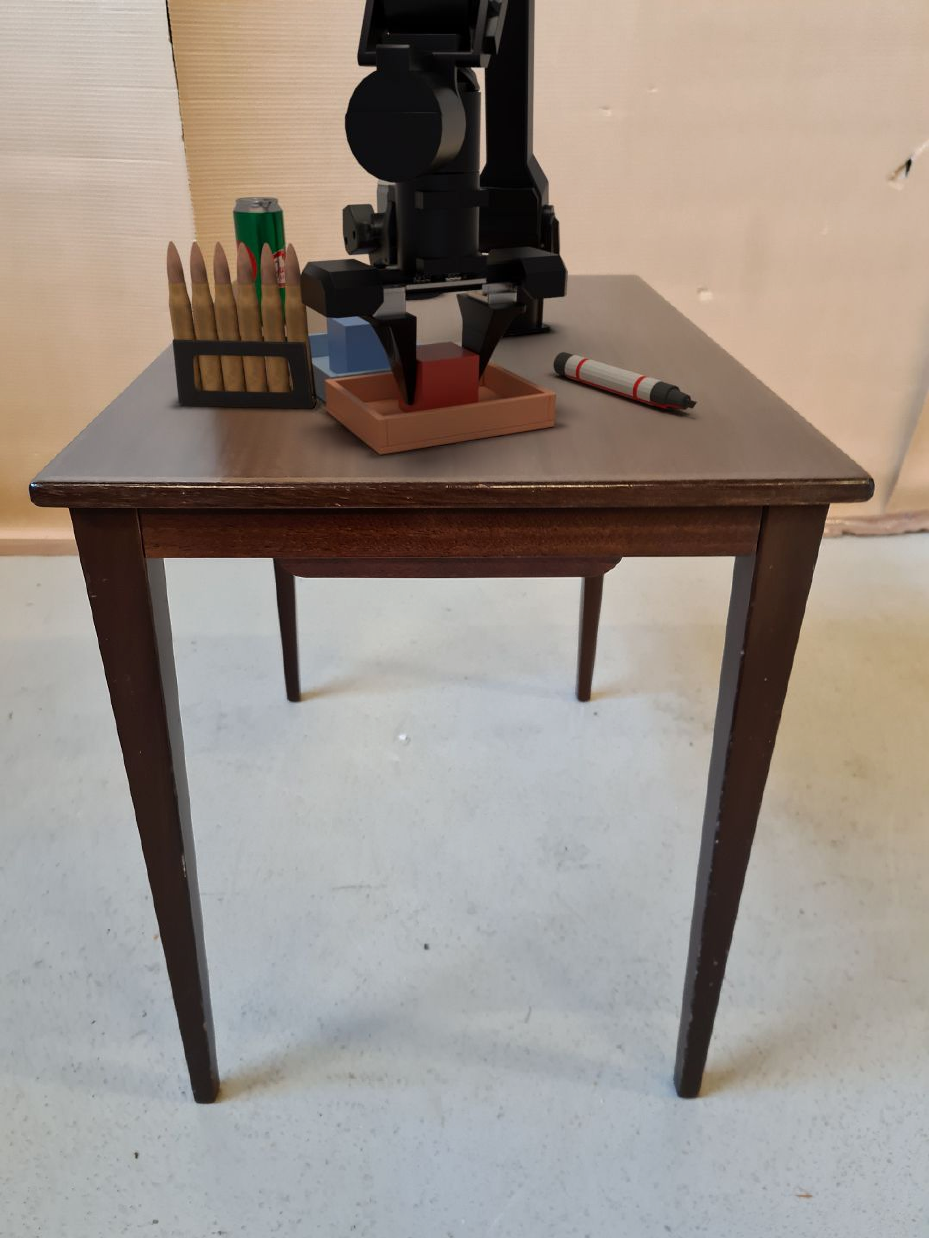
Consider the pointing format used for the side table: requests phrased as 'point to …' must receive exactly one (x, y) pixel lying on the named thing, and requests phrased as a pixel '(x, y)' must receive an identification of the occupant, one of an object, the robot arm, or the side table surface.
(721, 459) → the side table surface
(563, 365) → the marker
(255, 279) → the soda can
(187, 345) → the ammunition clip
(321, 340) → the blue tray
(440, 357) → the red block
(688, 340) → the side table surface
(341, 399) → the terracotta tray
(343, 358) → the blue block
